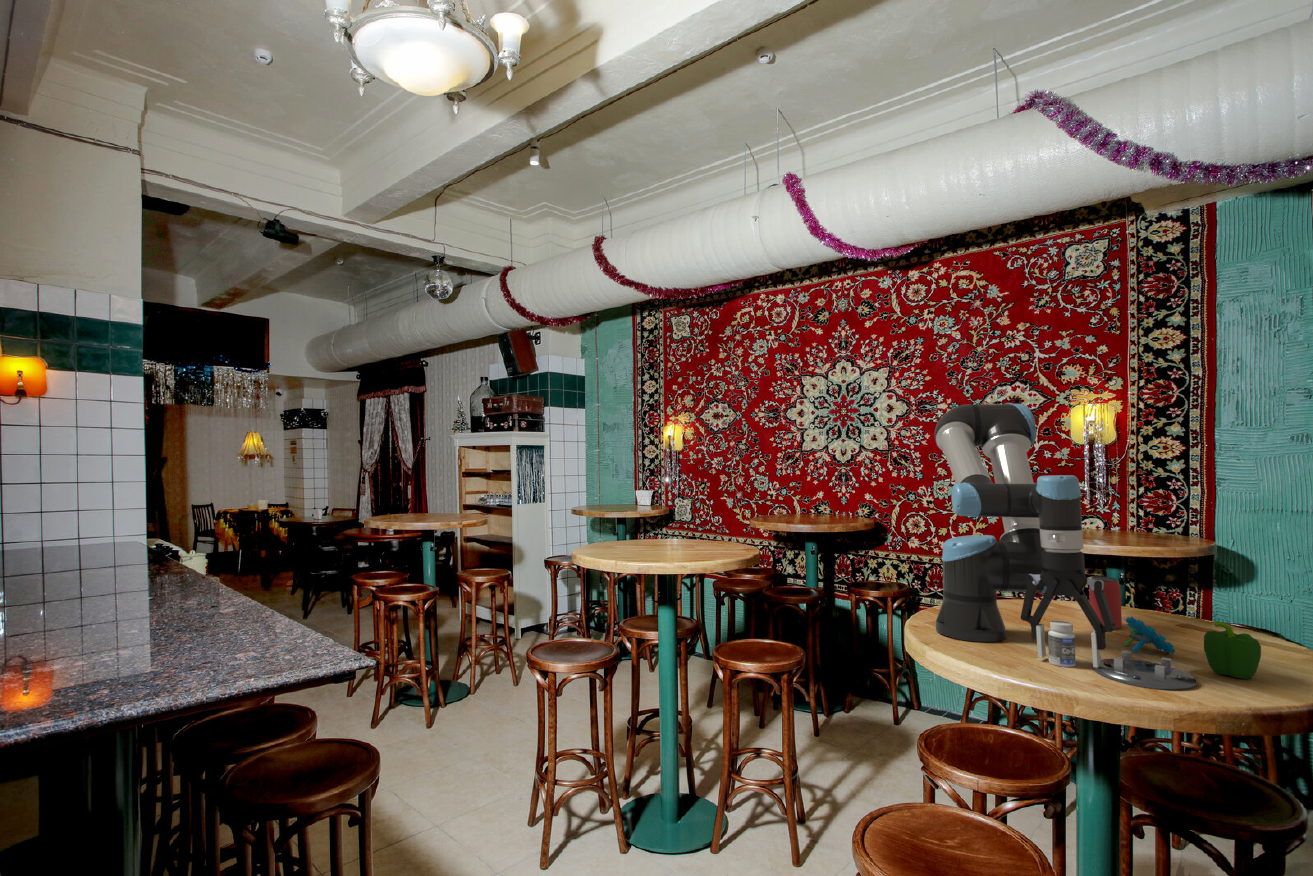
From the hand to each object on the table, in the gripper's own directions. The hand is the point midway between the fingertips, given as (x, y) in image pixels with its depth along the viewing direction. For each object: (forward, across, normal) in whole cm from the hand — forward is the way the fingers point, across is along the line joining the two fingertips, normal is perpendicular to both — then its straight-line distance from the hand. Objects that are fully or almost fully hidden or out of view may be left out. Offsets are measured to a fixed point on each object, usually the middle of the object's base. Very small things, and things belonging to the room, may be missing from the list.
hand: (1068, 660), depth 133 cm
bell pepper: (+2, +24, +16) cm, 29 cm away
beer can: (+1, -2, +41) cm, 41 cm away
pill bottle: (+1, -1, 0) cm, 2 cm away
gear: (+1, +9, +23) cm, 25 cm away
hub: (+1, +12, +3) cm, 12 cm away
